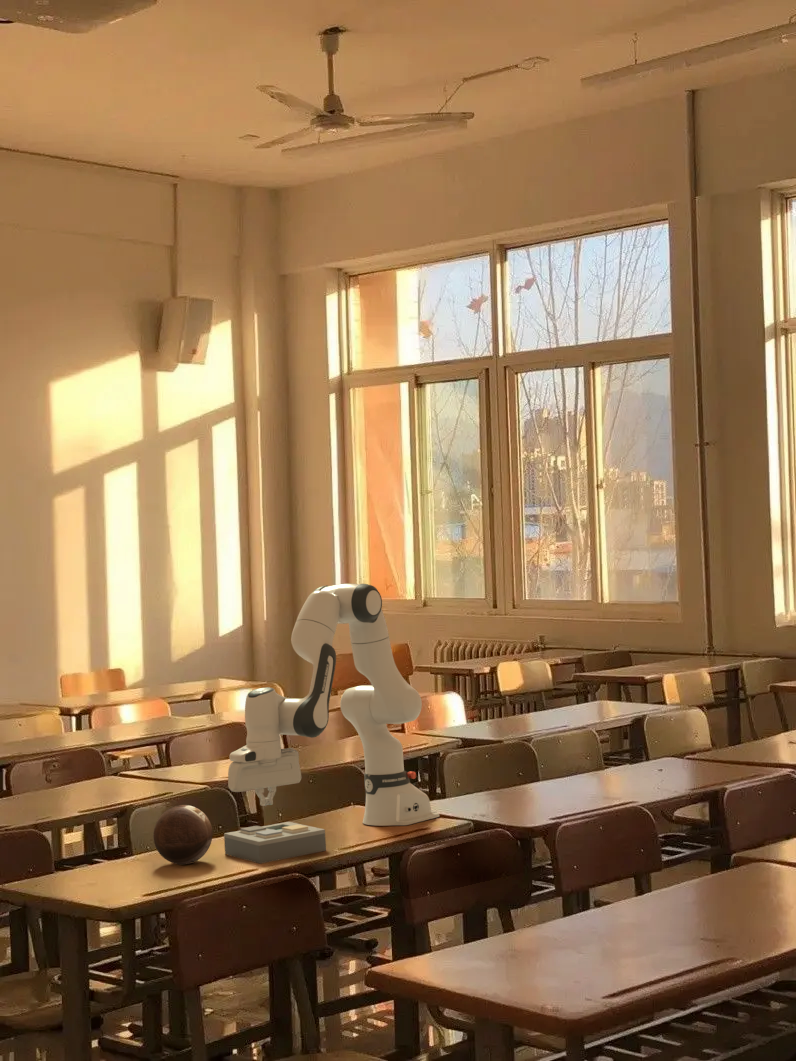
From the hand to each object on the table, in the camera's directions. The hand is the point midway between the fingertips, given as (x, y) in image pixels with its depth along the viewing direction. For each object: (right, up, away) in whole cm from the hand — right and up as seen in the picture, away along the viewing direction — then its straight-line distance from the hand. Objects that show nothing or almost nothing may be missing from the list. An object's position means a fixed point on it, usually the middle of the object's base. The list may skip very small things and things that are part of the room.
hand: (266, 805), depth 387 cm
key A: (+1, -10, 0) cm, 10 cm away
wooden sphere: (-21, -15, -2) cm, 26 cm away
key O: (-4, -10, +6) cm, 13 cm away
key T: (+7, -10, +5) cm, 13 cm away
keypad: (+2, -13, +5) cm, 15 cm away
